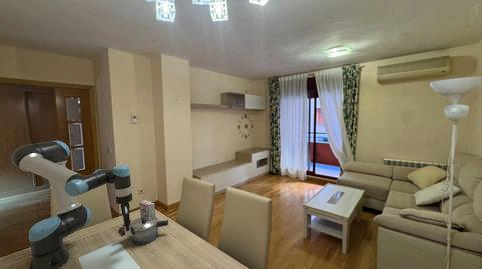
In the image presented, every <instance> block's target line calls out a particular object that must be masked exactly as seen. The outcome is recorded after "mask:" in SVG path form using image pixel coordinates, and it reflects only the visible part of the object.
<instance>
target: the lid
mask: <svg viewBox="0 0 482 269" xmlns="http://www.w3.org/2000/svg"><path fill="white" fill-rule="evenodd" d="M157 222H159V220H158V218H157V217H156V215H155V216H144V217H141V216H140V217H138V218H136V219H134V220H133V221H131V222H130V229H131V232H132V231H135V232H140V231H145V230H148V229H150V228H152V227H154V226H155V225H156V224H157ZM118 234H119V236H121V237H123V236H124V237H125V229H124V230H122V231H120V232H119V233H118Z"/></svg>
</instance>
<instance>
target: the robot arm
mask: <svg viewBox="0 0 482 269" xmlns="http://www.w3.org/2000/svg"><path fill="white" fill-rule="evenodd" d="M70 153H71V151H70V148H69V146H68V145H67V144H66V143H65V142H63V141H61V140H48V141H44V142H36V143H28V144H24V145H21V146H19V147H17V148H16V149H15V150H14V151H13V152H12V153H11V154H12V155H11V163H12V164H13V166H14V167H16V168H17V169H18V170H21V171H23V172H31V173H34V174H35V175H38V176H40V177H42V178H45V179H46V180H48V183H49V185H50V188H51V190H52V193H53V196H54V199H55V203H56V205H57V208H58V211H57V212H56V216H51V217H48V218H45V219H43V220H40V221H39V222H36V223H35V224H33V226H31V228H30V229H29V231H28V240H29V244H30V250H31V256H32V257H31V261H30V264H29V267H28V269H56V268H58V267H60V266H62V265H63V264H64V265H65V264H67V262H69V260H70V258H69V257H70V252H69V251H68V249H67V248H66V247H65V245H64V239H66V238H67V237H69V236H70V235H72V234H73V233H75V232H77V231H79V230H80V229H82V228H84V227H85V226H86V225H88V224H89V223H90V221H91V218H92V213H91V209H90V208H88V206H86V205H83V203H81V202H78V198H77V196H80V195H84V194H85V193H87V192H90V191H93V190H95V189H97V188H99V187H102V186H104V185H107V184H109V185H113V186H114V195H115V203H116V204H117V205H120V209H121V213H122V218H123V224H122V227H124V229H125V235H124V237H125V238H127V237H129V236H130V237H131V229H130V224H131V223H132V221H131V218H130V217H131V216H130V213H131V211H130V209H131V208H130V202H131V201H133V193H132V192H133V191H132V189H133V186H132V183H131V182H132V181H131V171H130V167H129V166H128V165H127V164H122V165H121V164H120V165H117V166H114V167H113V168H112V169H111V168H110V169H109V168H99V169H96V170H94V172H93V173H90V174H87V175H83V174H80V173H78V172H76V171H73V170H72V169H69V168H67V166H66V163H68V158H69V157H70ZM68 259H69V260H68ZM64 265H63V266H64ZM63 266H62V267H63ZM60 268H61V267H60ZM58 269H59V268H58Z"/></svg>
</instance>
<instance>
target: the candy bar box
mask: <svg viewBox="0 0 482 269" xmlns="http://www.w3.org/2000/svg"><path fill="white" fill-rule="evenodd" d="M138 203H139V214H140V218H141V217H144V216H155V217H156V209H155V208H156V207H155V206H156V205H155V203H154V202H151V201H149V200H147V199H143V200H141V201H139V202H138Z"/></svg>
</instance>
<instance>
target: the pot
mask: <svg viewBox="0 0 482 269" xmlns="http://www.w3.org/2000/svg"><path fill="white" fill-rule="evenodd" d="M166 226H169V220H167V219H166V220H161V221H159V220H158V222H157V224H156V225H155V226H154V227H152V228H150V229H148V230H145V231H140V232H135V231H132V232H131V235H130V238H131V244H132V245H133V246H136V247H142V246H143V247H144V246H146V245H149V244H151V243H153V242H154V241H155V240H156V239H158V236H159V228H161V227H166ZM122 230H124V227H123V226H122V227H119V229H118V234H119V232H120V231H122Z"/></svg>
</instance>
